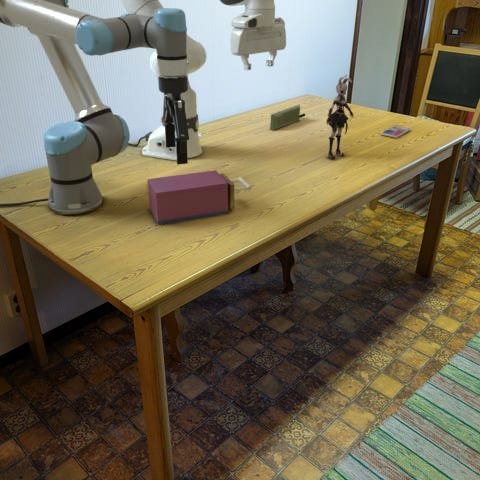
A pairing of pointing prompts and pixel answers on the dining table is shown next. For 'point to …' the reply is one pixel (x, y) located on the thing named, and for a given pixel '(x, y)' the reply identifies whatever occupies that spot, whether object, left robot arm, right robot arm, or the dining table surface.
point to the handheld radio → (285, 117)
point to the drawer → (231, 189)
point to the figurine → (338, 116)
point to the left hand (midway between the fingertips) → (176, 155)
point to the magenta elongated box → (187, 196)
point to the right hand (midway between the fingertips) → (258, 67)
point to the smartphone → (395, 131)
